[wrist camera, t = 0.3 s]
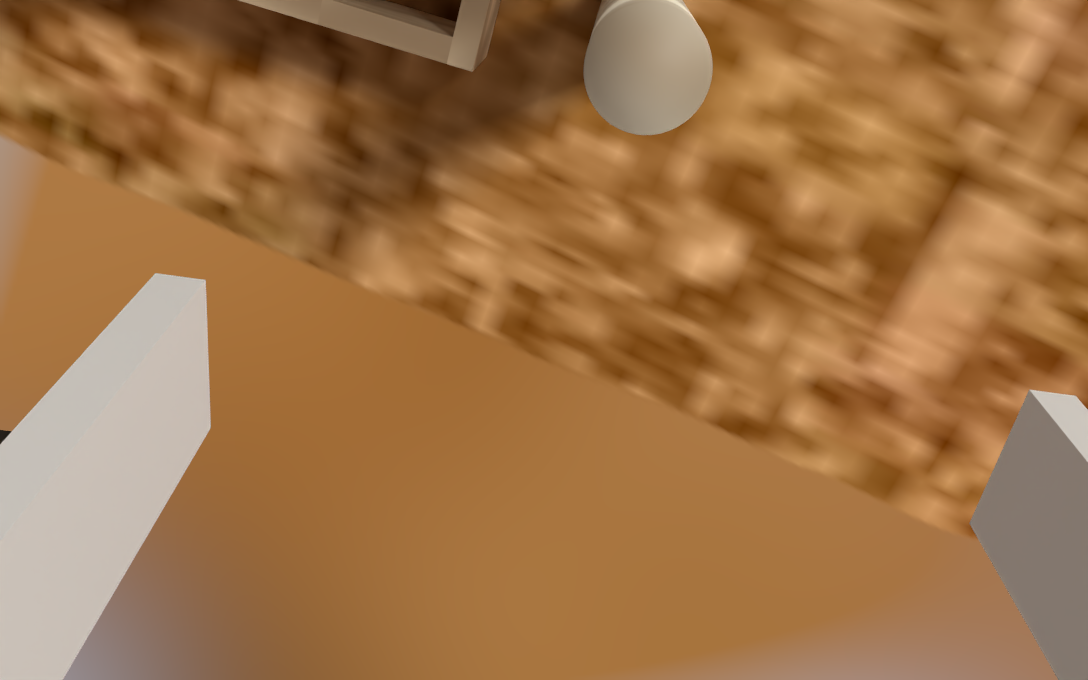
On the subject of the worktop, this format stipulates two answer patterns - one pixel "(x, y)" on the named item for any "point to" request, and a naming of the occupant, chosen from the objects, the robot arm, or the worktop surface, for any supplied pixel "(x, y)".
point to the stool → (403, 26)
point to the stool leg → (647, 65)
